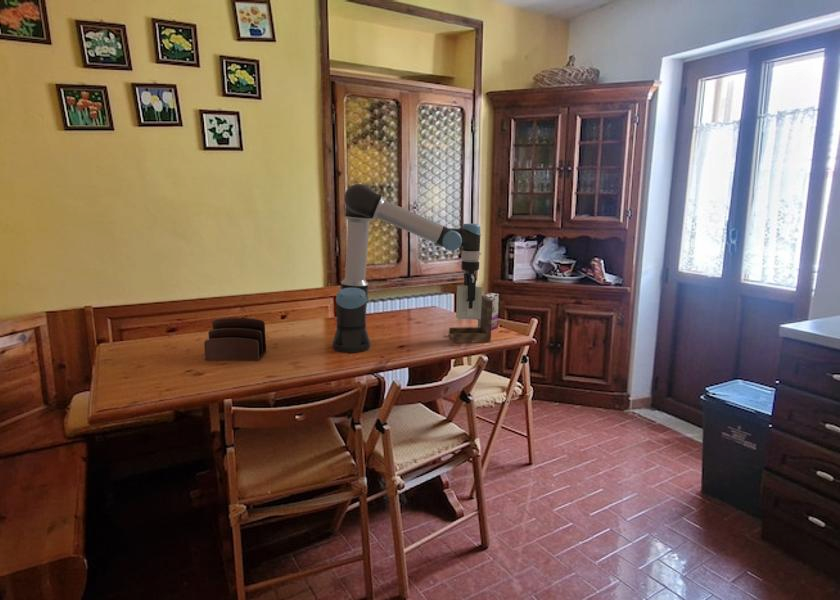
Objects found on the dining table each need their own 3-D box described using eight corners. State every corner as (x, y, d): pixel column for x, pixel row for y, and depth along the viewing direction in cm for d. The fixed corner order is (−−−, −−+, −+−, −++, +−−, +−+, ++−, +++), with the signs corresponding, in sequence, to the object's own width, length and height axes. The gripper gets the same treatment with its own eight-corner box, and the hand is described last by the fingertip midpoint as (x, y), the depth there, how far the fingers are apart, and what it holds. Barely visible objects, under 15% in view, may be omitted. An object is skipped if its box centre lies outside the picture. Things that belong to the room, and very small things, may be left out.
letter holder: (214, 352, 195) (212, 316, 192) (266, 353, 196) (265, 317, 193) (204, 360, 186) (202, 323, 183) (259, 361, 186) (257, 324, 183)
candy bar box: (488, 326, 243) (490, 292, 240) (497, 327, 240) (499, 293, 237) (476, 330, 235) (478, 295, 231) (486, 332, 232) (487, 297, 228)
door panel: (458, 319, 217) (459, 287, 214) (456, 317, 221) (457, 285, 218) (480, 319, 218) (482, 287, 215) (478, 316, 222) (479, 285, 219)
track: (453, 342, 215) (455, 300, 211) (449, 335, 226) (450, 295, 222) (490, 341, 217) (492, 300, 213) (484, 334, 228) (486, 295, 224)
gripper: (484, 263, 206) (481, 319, 211) (474, 258, 223) (472, 309, 228) (466, 263, 205) (464, 319, 210) (457, 258, 222) (455, 309, 227)
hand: (468, 314), depth 219 cm, fingers closed on door panel, 4 cm apart
